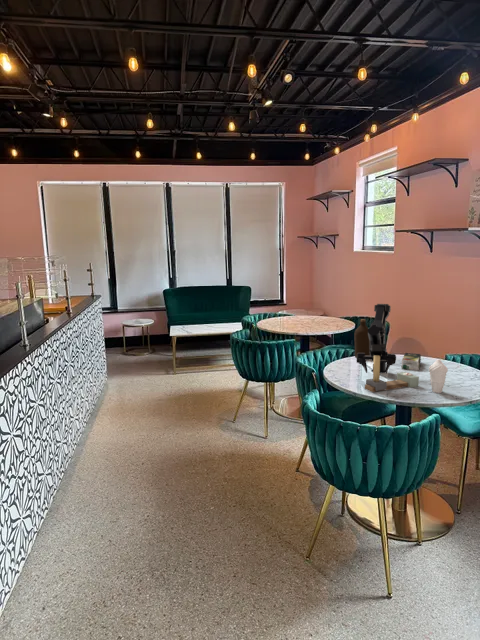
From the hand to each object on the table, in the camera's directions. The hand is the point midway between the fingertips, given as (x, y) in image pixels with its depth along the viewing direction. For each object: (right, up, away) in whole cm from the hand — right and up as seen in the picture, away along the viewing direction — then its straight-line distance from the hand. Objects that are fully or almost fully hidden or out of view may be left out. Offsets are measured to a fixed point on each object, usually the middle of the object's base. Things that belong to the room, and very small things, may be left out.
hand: (376, 372), depth 207 cm
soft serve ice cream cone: (+28, -9, -4) cm, 30 cm away
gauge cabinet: (+19, -7, +9) cm, 22 cm away
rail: (+6, -8, +4) cm, 11 cm away
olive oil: (+13, +2, +67) cm, 68 cm away
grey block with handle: (0, -8, +2) cm, 9 cm away
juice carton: (+35, -2, +44) cm, 56 cm away
